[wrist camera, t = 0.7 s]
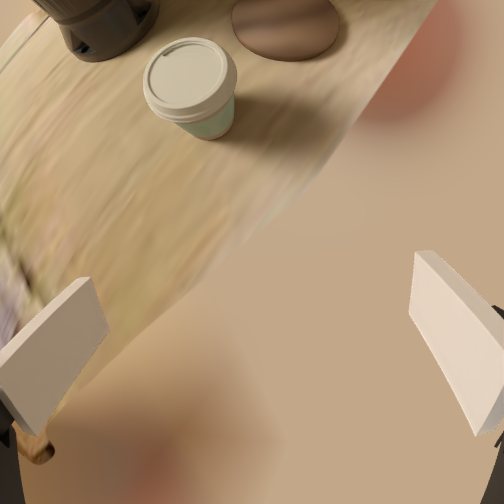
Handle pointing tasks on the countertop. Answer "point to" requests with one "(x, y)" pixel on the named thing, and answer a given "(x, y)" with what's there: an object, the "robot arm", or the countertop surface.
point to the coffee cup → (192, 86)
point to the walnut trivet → (285, 27)
